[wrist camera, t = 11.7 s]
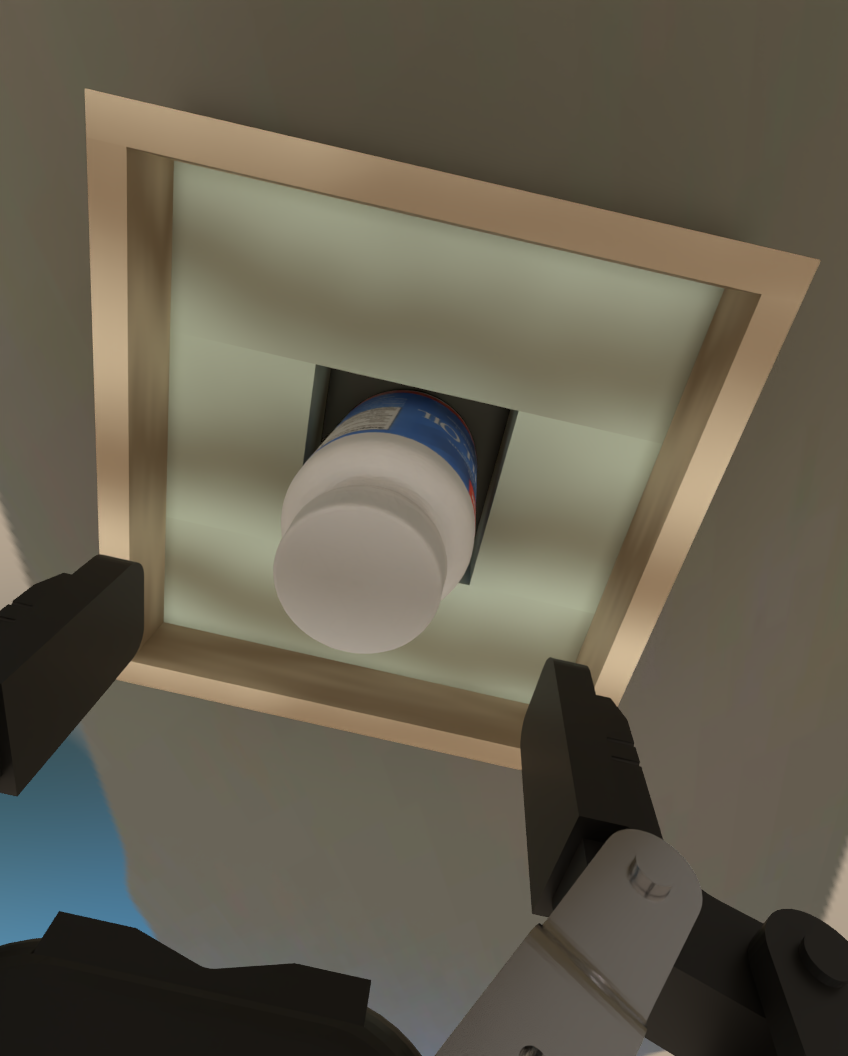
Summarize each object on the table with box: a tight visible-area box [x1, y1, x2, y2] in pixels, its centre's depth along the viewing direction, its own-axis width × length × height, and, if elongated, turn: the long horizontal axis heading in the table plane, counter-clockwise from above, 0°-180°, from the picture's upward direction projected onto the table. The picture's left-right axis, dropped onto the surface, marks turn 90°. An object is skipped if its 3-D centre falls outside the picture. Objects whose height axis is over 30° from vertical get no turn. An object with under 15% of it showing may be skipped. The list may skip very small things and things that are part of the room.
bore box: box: [85, 89, 821, 770], centre depth 20 cm, size 18×18×5 cm
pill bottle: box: [273, 390, 477, 654], centre depth 18 cm, size 6×5×10 cm
